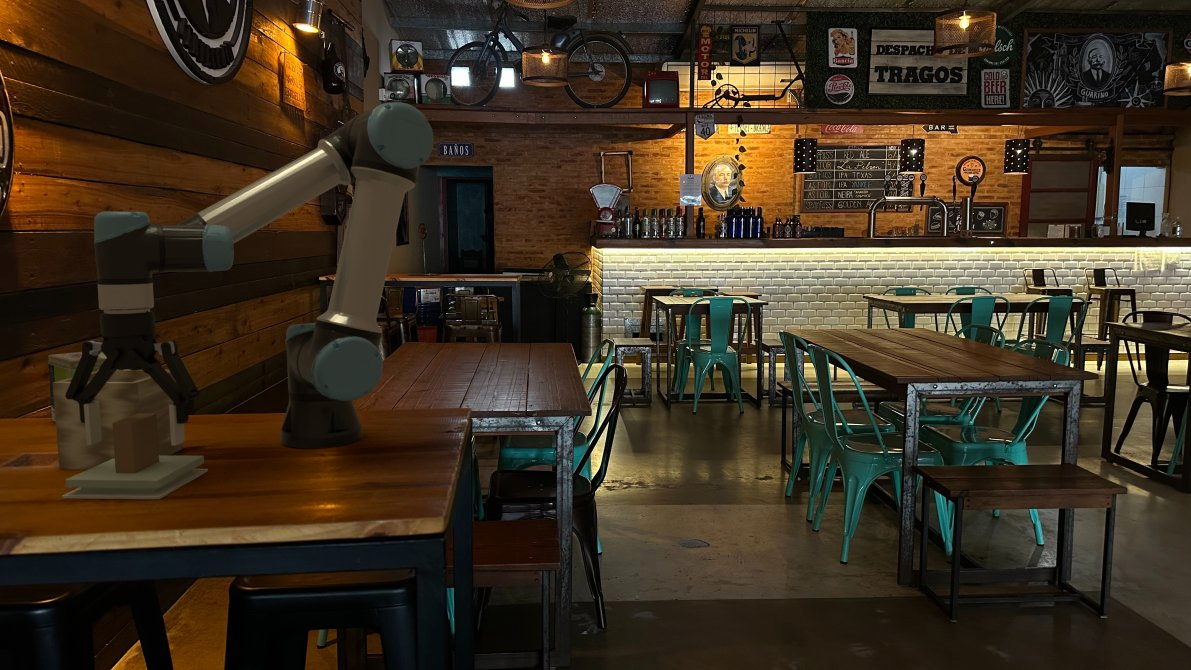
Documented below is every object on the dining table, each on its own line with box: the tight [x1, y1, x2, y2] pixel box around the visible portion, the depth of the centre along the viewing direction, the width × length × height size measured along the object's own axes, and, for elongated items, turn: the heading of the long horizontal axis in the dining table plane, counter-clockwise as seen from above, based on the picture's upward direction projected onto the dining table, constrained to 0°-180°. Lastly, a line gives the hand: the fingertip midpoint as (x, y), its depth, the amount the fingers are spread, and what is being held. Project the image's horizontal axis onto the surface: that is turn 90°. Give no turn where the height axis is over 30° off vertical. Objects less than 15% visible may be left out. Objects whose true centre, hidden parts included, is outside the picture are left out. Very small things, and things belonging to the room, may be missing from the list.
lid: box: [64, 414, 205, 493], centre depth 132 cm, size 14×14×10 cm
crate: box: [53, 369, 184, 470], centre depth 147 cm, size 14×14×15 cm
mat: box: [61, 468, 209, 500], centre depth 133 cm, size 15×15×1 cm
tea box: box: [47, 351, 107, 423], centre depth 175 cm, size 15×10×15 cm, turn 49°
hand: (136, 443), depth 132 cm, fingers open, 13 cm apart
